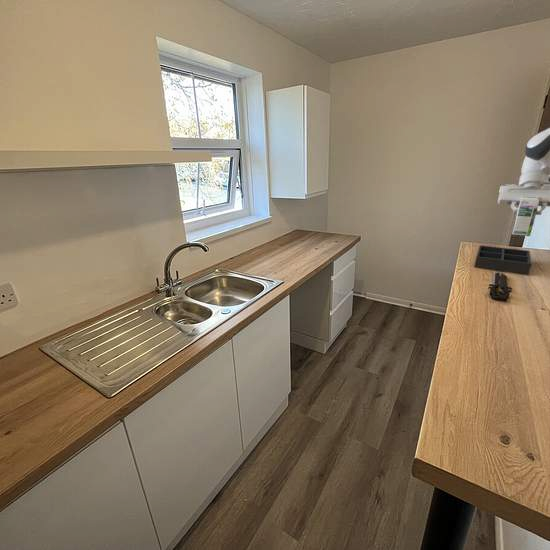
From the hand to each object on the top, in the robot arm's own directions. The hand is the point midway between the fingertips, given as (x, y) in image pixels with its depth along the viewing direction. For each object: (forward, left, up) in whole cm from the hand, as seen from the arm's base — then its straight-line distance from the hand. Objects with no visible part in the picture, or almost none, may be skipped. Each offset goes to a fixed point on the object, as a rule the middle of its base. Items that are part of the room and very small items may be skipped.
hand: (526, 213), depth 117 cm
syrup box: (0, -1, -9) cm, 9 cm away
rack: (+5, +2, -21) cm, 21 cm away
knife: (+12, +26, -21) cm, 36 cm away
